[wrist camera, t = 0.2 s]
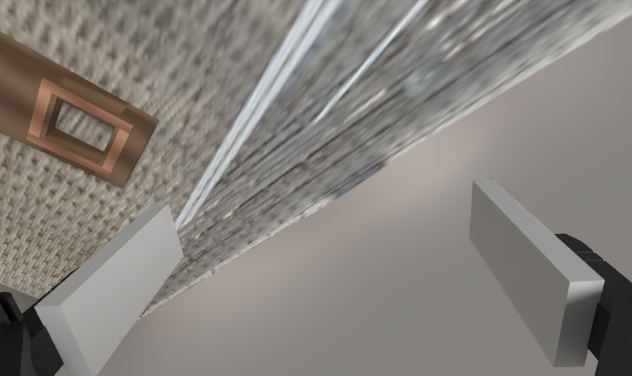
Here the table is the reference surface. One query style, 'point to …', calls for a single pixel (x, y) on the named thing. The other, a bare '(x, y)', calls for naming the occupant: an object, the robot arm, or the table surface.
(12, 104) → the walnut rail
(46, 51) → the table surface
